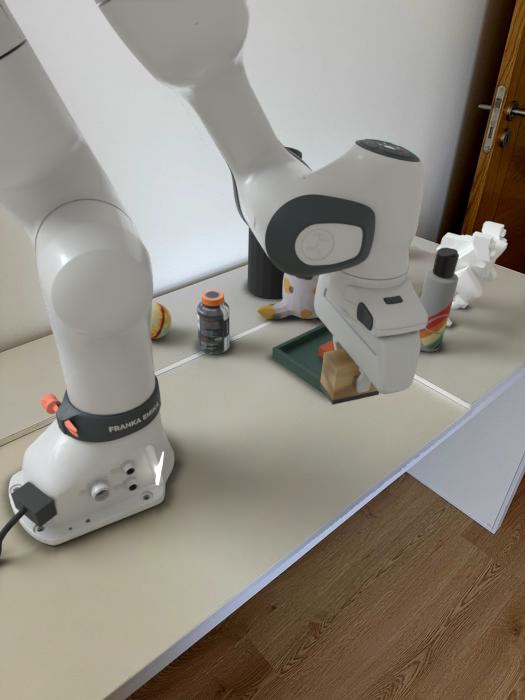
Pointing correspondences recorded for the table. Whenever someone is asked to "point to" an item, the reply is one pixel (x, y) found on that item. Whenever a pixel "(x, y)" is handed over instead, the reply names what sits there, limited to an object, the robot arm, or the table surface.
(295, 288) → the figurine
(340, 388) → the tan brown block
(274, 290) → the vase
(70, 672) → the table surface
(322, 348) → the orange red square block
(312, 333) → the tray
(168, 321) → the ball
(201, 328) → the pill bottle
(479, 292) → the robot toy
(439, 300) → the spray bottle
